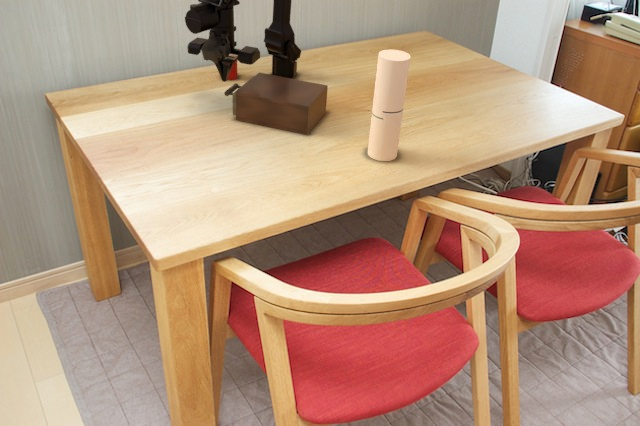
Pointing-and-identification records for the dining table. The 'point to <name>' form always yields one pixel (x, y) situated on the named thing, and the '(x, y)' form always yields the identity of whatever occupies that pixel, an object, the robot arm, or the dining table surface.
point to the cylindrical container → (388, 104)
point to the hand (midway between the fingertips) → (224, 81)
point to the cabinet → (281, 103)
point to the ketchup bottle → (233, 72)
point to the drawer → (233, 94)
